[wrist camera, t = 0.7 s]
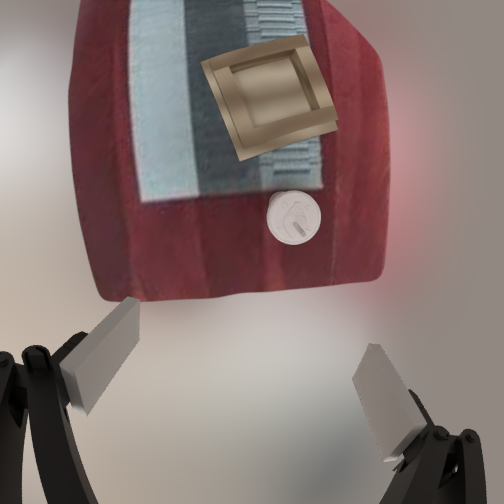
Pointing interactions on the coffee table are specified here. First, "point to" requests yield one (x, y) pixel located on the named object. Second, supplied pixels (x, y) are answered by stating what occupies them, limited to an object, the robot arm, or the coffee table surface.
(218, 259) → the coffee table surface
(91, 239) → the coffee table surface
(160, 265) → the coffee table surface
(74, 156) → the coffee table surface
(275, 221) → the smoothie
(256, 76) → the wooden box
